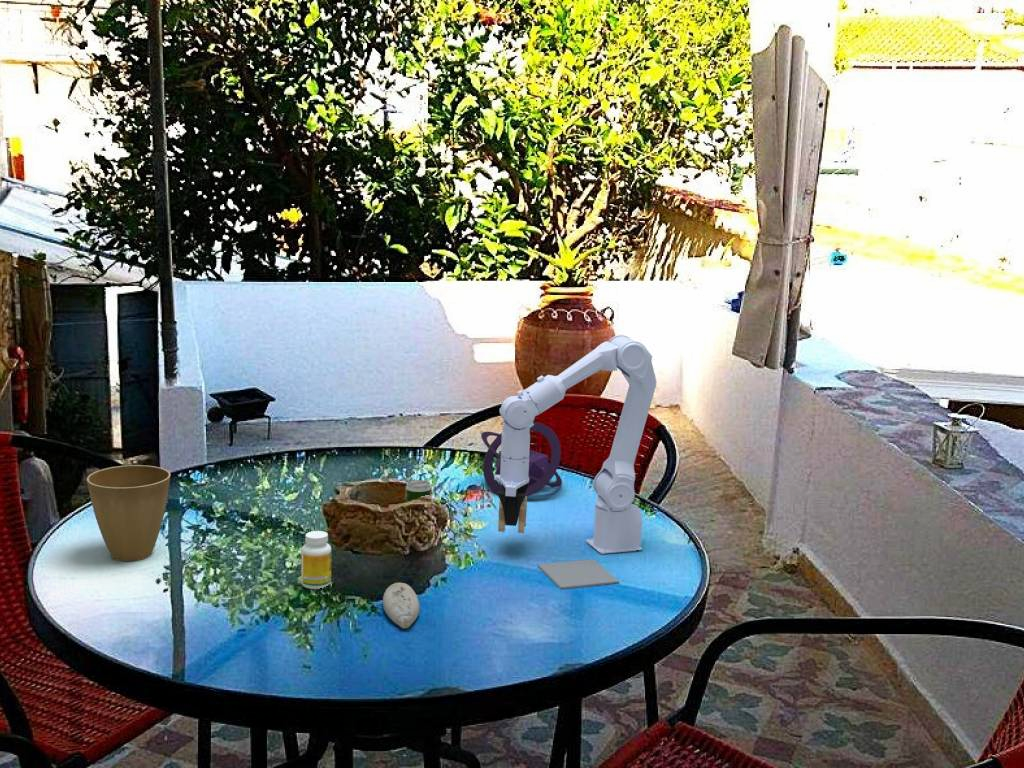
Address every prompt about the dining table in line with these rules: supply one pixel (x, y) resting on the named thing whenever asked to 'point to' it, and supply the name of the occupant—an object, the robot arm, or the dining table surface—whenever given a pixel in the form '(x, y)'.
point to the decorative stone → (401, 604)
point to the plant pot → (129, 508)
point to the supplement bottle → (316, 561)
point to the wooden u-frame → (520, 519)
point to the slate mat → (577, 574)
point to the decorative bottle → (537, 462)
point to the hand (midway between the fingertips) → (512, 520)
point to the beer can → (417, 489)
